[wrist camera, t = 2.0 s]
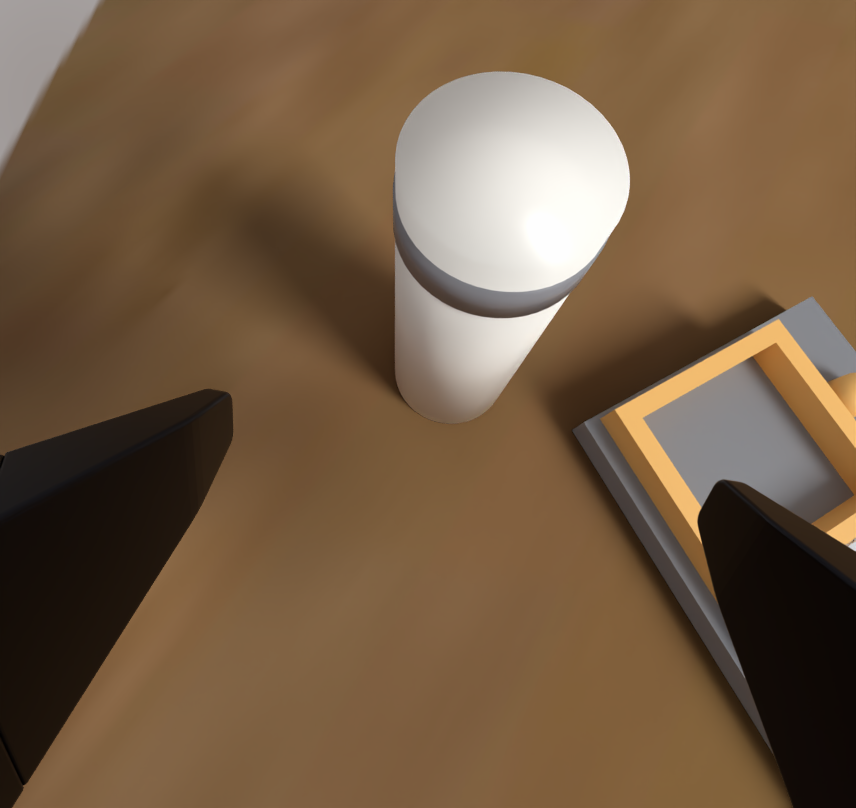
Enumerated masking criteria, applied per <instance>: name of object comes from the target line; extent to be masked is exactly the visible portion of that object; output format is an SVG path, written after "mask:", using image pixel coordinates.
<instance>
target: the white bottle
mask: <svg viewBox="0 0 856 808" xmlns="http://www.w3.org/2000/svg"><path fill="white" fill-rule="evenodd" d="M629 187H630V176H629V167H628V162H627V158H626V155H625V152H624V148H623V146H622V144H621V142H620V140H619V138H618V136H617V134H616V133H615V131H614V130H613V128H612V126H611V125H610V124H609V122H608V121H607V120H606V119H605V118H604V116H603V115H602V114H601V113H600V112H599V111H598V110H597V109H596V108H595V107H594V106H592V105H591V104H590V103H589V102H588V101H586V100H585V99H584V98H582V97H581V96H580V95H578V94H576V93H575V92H573V91H571V90H570V89H568V88H566V87H564V86H562V85H559V84H557V83H555V82H553V81H550V80H547V79H544V78H541V77H537V76H533V75H529V74H523V73H516V72H486V73H479V74H474V75H469V76H466V77H462V78H459V79H456V80H454V81H452V82H449V83H447V84H445V85H443V86H441V87H440V88H438V89H436V90H435V91H433V92H432V93H430V94H429V95H428V96H427V97H425V98H424V99H423V100H422V101H421V102H420V103H419V104H418V105H417V106H416V107H415V108H414V110H413V111H412V112H411V114H410V115H409V117H408V118H407V120H406V122H405V124H404V126H403V128H402V130H401V132H400V136H399V139H398V142H397V148H396V155H395V175H394V182H393V231H394V237H395V378H396V383H397V386H398V389H399V391H400V393H401V395H402V397H403V398H404V400H405V401H406V402H407V404H408V405H409V406H410V407H411V408H412V409H413V410H414V411H416V412H417V413H418V414H420V415H421V416H423V417H425V418H427V419H430V420H432V421H435V422H439V423H446V424H457V423H463V422H467V421H470V420H473V419H475V418H477V417H479V416H480V415H482V414H483V413H485V412H486V411H487V410H488V409H489V408H490V407H491V406H492V405H493V404H494V402H495V401H496V399H497V398H498V397H499V395H500V394H501V392H502V391H503V389H504V388H505V386H506V385H507V384H508V382H509V381H510V379H511V378H512V376H513V375H514V373H515V372H516V370H517V369H518V368H519V366H520V365H521V363H522V362H523V360H524V359H525V357H526V356H527V354H528V353H529V352H530V350H531V349H532V347H533V346H534V344H535V343H536V341H537V340H538V338H539V337H540V336H541V334H542V333H543V331H544V330H545V328H546V327H547V325H548V324H549V322H550V321H551V320H552V318H553V317H554V315H555V314H556V312H557V311H558V309H559V308H560V307H561V305H562V304H563V302H564V301H565V299H566V298H567V296H568V295H569V294H570V293H571V292H572V291H573V289H574V288H575V287H576V286H577V285H578V284H579V282H580V281H581V280H582V278H583V277H584V275H585V274H586V272H587V271H588V270H589V268H590V267H591V265H592V264H593V262H594V261H595V259H596V258H597V257H598V255H599V254H600V252H601V251H602V249H603V248H604V246H605V244H606V242H607V240H608V238H609V235H610V234H611V232H612V231H613V229H614V228H615V227H616V225H617V224H618V222H619V220H620V218H621V216H622V214H623V212H624V210H625V206H626V203H627V200H628V194H629Z"/></svg>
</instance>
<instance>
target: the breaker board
mask: <svg viewBox="0 0 856 808" xmlns="http://www.w3.org/2000/svg"><path fill="white" fill-rule="evenodd" d="M572 431H573V433H574V434H575V436H576V438H577V439H578V441H579V443H580V444H581V446H582V447H583V449H584V451H585V452H586V454H587V455H588V457H589V459H590V460H591V462H592V463H593V465H594V467H595V468H596V470H597V472H598V473H599V475H600V476H601V478H602V480H603V481H604V483H605V484H606V486H607V488H608V489H609V491H610V492H611V494H612V496H613V497H614V499H615V500H616V502H617V504H618V505H619V507H620V509H621V510H622V512H623V513H624V515H625V517H626V518H627V520H628V521H629V523H630V525H631V526H632V528H633V529H634V531H635V533H636V534H637V536H638V538H639V539H640V541H641V542H642V544H643V546H644V547H645V549H646V550H647V552H648V554H649V555H650V557H651V558H652V560H653V562H654V563H655V565H656V566H657V568H658V570H659V571H660V573H661V575H662V576H663V578H664V579H665V581H666V583H667V584H668V586H669V587H670V589H671V591H672V592H673V594H674V595H675V597H676V599H677V600H678V602H679V604H680V605H681V607H682V608H683V610H684V612H685V613H686V615H687V616H688V618H689V620H690V621H691V623H692V624H693V626H694V628H695V629H696V631H697V632H698V634H699V636H700V637H701V639H702V641H703V642H704V644H705V645H706V647H707V649H708V650H709V652H710V653H711V655H712V657H713V658H714V660H715V661H716V663H717V665H718V666H719V668H720V670H721V671H722V673H723V674H724V676H725V678H726V679H727V681H728V682H729V684H730V686H731V687H732V689H733V690H734V692H735V694H736V695H737V697H738V698H739V700H740V702H741V703H742V705H743V707H744V708H745V710H746V711H747V713H748V715H749V716H750V718H751V719H752V721H753V723H754V724H755V726H756V727H757V729H758V731H759V732H760V734H761V735H762V737H763V739H764V740H765V742H766V744H767V745H768V747H769V748H770V750H771V752H772V749H771V746H770V744H769V741H768V738H767V736H766V733H765V730H764V728H763V725H762V722H761V719H760V717H759V714H758V711H757V709H756V706H755V703H754V700H753V698H752V695H751V692H750V690H749V687H748V684H747V682H746V679H745V676H744V673H743V671H742V668H741V665H740V663H739V660H738V657H737V654H736V652H735V649H734V646H733V644H732V641H731V638H730V636H729V633H728V630H727V627H726V625H725V622H724V619H723V617H722V614H721V611H720V608H719V605H718V602H717V599H716V596H715V592H714V589H713V585H712V581H711V577H710V573H709V569H708V565H707V561H706V557H705V553H704V549H703V545H702V541H701V537H700V533H699V529H698V524H697V519H698V514H699V512H700V510H701V508H702V506H703V504H704V502H705V501H706V499H707V497H708V495H709V493H710V492H711V490H712V488H713V486H714V485H715V483H716V482H717V481H719V480H722V479H726V480H732V481H738V482H742V483H745V484H747V485H749V486H750V487H752V488H754V489H755V490H757V491H759V492H760V493H762V494H763V495H765V496H767V497H768V498H770V499H772V500H773V501H775V502H776V503H778V504H780V505H781V506H783V507H785V508H786V509H788V510H789V511H791V512H793V513H794V514H796V515H798V516H799V517H801V518H802V519H804V520H806V521H807V522H809V523H811V524H812V525H814V526H815V527H817V528H819V529H820V530H822V531H824V532H825V533H827V534H828V535H830V536H832V537H833V538H835V539H837V540H838V541H840V542H841V543H843V544H845V545H846V546H848V547H850V548H851V549H853V550H854V551H856V352H855V350H854V349H853V348H852V346H851V345H850V344H849V343H848V341H847V340H846V339H845V338H844V336H843V335H842V334H841V332H840V331H839V330H838V329H837V327H836V326H835V325H834V324H833V322H832V321H831V320H830V318H829V317H828V316H827V315H826V313H825V312H824V311H823V310H822V308H821V307H820V306H819V304H818V303H817V302H816V301H815V299H814V298H813V297H810V298H808V299H807V300H805V301H803V302H801V303H799V304H797V305H796V306H794V307H792V308H790V309H788V310H787V311H785V312H783V313H781V314H779V315H778V316H776V317H774V318H772V319H770V320H768V321H767V322H765V323H763V324H761V325H759V326H758V327H756V328H754V329H752V330H750V331H749V332H747V333H745V334H743V335H741V336H739V337H738V338H736V339H734V340H732V341H730V342H729V343H727V344H725V345H723V346H721V347H719V348H718V349H716V350H714V351H712V352H710V353H709V354H707V355H705V356H703V357H701V358H700V359H698V360H696V361H694V362H692V363H690V364H689V365H687V366H685V367H683V368H681V369H680V370H678V371H676V372H674V373H672V374H670V375H669V376H667V377H665V378H663V379H661V380H660V381H658V382H656V383H654V384H652V385H651V386H649V387H647V388H645V389H643V390H641V391H640V392H638V393H636V394H634V395H632V396H631V397H629V398H627V399H625V400H623V401H621V402H620V403H618V404H616V405H614V406H612V407H611V408H609V409H607V410H605V411H603V412H602V413H600V414H598V415H596V416H594V417H592V418H591V419H589V420H587V421H585V422H583V423H582V424H580V425H579V426H577V427H576V428H574V429H573V430H572ZM772 753H773V752H772Z"/></svg>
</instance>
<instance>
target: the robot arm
mask: <svg viewBox="0 0 856 808" xmlns="http://www.w3.org/2000/svg"><path fill="white" fill-rule="evenodd" d="M232 437H233V409H232V398H231V395H230V394H229V393H228V392H225V391H219V390H213V389H204V390H201V391H198V392H195V393H192V394H188V395H185V396H182V397H179V398H176V399H173V400H170V401H166V402H163V403H160V404H157V405H154V406H151V407H148V408H145V409H141V410H138V411H135V412H132V413H129V414H126V415H123V416H120V417H116V418H113V419H110V420H107V421H104V422H101V423H98V424H94V425H91V426H88V427H85V428H82V429H79V430H76V431H73V432H69V433H66V434H63V435H60V436H57V437H54V438H51V439H47V440H44V441H41V442H38V443H35V444H32V445H29V446H26V447H22V448H19V449H16V450H13V451H10V452H7V453H6V454H5V456H3V455H0V808H12V807H13V805H14V804H15V802H16V801H17V799H18V797H19V796H20V794H21V793H22V791H23V789H24V787H23V785H25V784H26V783H27V782H28V781H29V779H30V778H31V776H32V774H33V773H34V771H35V770H36V768H37V767H38V765H39V763H40V762H41V760H42V759H43V757H44V755H45V754H46V752H47V751H48V749H49V748H50V746H51V744H52V743H53V741H54V740H55V738H56V736H57V735H58V733H59V732H60V730H61V729H62V727H63V725H64V724H65V722H66V721H67V719H68V717H69V716H70V714H71V713H72V711H73V710H74V708H75V706H76V705H77V703H78V702H79V700H80V698H81V697H82V695H83V694H84V692H85V691H86V689H87V687H88V686H89V684H90V683H91V681H92V679H93V678H94V676H95V675H96V673H97V672H98V670H99V668H100V667H101V665H102V664H103V662H104V660H105V659H106V657H107V656H108V654H109V653H110V651H111V649H112V648H113V646H114V645H115V643H116V641H117V640H118V638H119V637H120V635H121V634H122V632H123V630H124V629H125V627H126V626H127V624H128V622H129V621H130V619H131V618H132V616H133V615H134V613H135V611H136V610H137V608H138V607H139V605H140V603H141V602H142V600H143V599H144V597H145V596H146V594H147V592H148V591H149V589H150V588H151V586H152V584H153V583H154V581H155V580H156V578H157V576H158V575H159V573H160V572H161V570H162V569H163V567H164V565H165V564H166V562H167V561H168V559H169V557H170V556H171V554H172V553H173V551H174V550H175V548H176V546H177V545H178V543H179V542H180V540H181V538H182V537H183V535H184V534H185V532H186V531H187V529H188V527H189V526H190V524H191V523H192V521H193V519H194V518H195V516H196V514H197V513H198V511H199V509H200V507H201V505H202V503H203V501H204V499H205V497H206V495H207V493H208V491H209V489H210V486H211V484H212V482H213V480H214V478H215V476H216V474H217V472H218V469H219V467H220V465H221V463H222V461H223V459H224V457H225V455H226V453H227V450H228V448H229V446H230V444H231V441H232ZM697 524H698V529H699V533H700V537H701V541H702V545H703V549H704V553H705V557H706V561H707V565H708V569H709V573H710V577H711V581H712V585H713V589H714V592H715V596H716V599H717V602H718V605H719V608H720V611H721V614H722V617H723V619H724V622H725V625H726V627H727V630H728V633H729V636H730V638H731V641H732V644H733V646H734V649H735V652H736V654H737V657H738V660H739V663H740V665H741V668H742V671H743V673H744V676H745V679H746V682H747V684H748V687H749V690H750V692H751V695H752V698H753V700H754V703H755V706H756V709H757V711H758V714H759V717H760V719H761V722H762V725H763V728H764V730H765V733H766V736H767V738H768V741H769V744H770V746H771V749H772V752H773V755H774V757H775V760H776V763H777V765H778V768H779V771H780V774H781V776H782V779H783V782H784V784H785V787H786V790H787V793H788V795H789V798H790V801H791V803H792V806H793V808H856V551H854V550H853V549H851V548H850V547H848V546H846V545H845V544H843V543H841V542H840V541H838V540H837V539H835V538H833V537H832V536H830V535H828V534H827V533H825V532H824V531H822V530H820V529H819V528H817V527H815V526H814V525H812V524H811V523H809V522H807V521H806V520H804V519H802V518H801V517H799V516H798V515H796V514H794V513H793V512H791V511H789V510H788V509H786V508H785V507H783V506H781V505H780V504H778V503H776V502H775V501H773V500H772V499H770V498H768V497H767V496H765V495H763V494H762V493H760V492H759V491H757V490H755V489H754V488H752V487H750V486H749V485H747V484H745V483H742V482H738V481H732V480H726V479H722V480H719V481H717V482H716V483H715V485H714V486H713V488H712V490H711V492H710V493H709V495H708V497H707V499H706V501H705V502H704V504H703V506H702V508H701V510H700V512H699V514H698V519H697Z"/></svg>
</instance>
